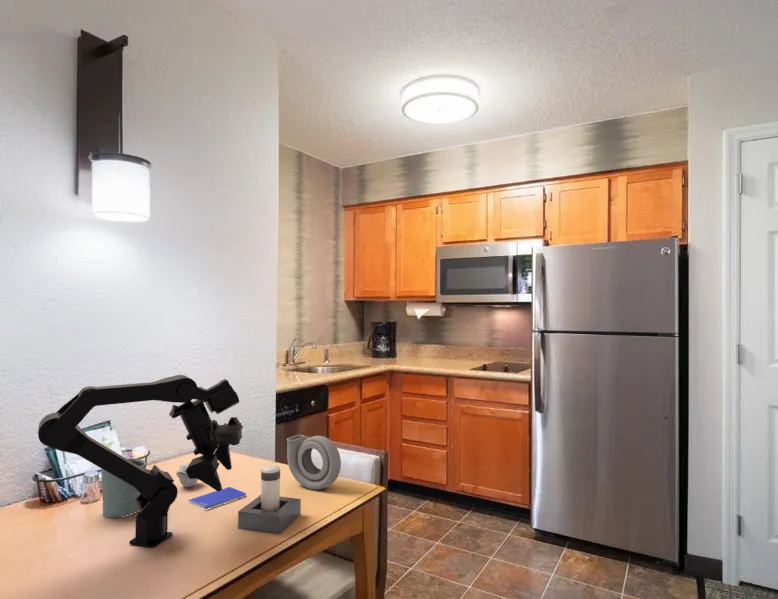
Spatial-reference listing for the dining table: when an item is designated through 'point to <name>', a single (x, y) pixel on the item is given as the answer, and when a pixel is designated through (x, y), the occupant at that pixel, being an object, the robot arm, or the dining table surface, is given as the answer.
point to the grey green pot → (119, 494)
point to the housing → (269, 515)
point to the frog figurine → (185, 476)
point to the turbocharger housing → (304, 466)
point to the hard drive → (217, 498)
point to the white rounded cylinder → (270, 488)
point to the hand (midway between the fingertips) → (225, 479)
